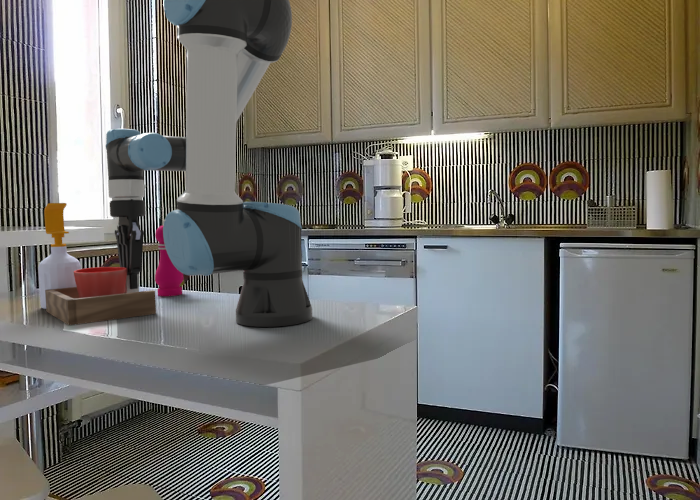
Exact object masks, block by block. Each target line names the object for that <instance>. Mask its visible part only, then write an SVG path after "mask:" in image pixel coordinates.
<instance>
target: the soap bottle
mask: <svg viewBox="0 0 700 500" xmlns="http://www.w3.org/2000/svg"><path fill="white" fill-rule="evenodd" d="M66 206H68V205H67V203H66V202H49V203H47V204H46V205H45V207H44V228H45V229H44V230H45V233H46V234H47V235H51V238H52V239H53V241H54V243H51V244H50V254H49V255H48V256H47V257H45V258H43V259H42V260H41V261H40V262H39V264H38V267H37V270H38V272H37V273H38V284H39V285H38V287H39V301H40V307H41V309H43V310H46V297H45V290H49V289H59V288H70V287H77V286H76V282H75V278H74V271H75V270H79V269H82V265H81V262H80V261H79V260H78V259H77V258H76V257H75V256H73V255H70V254H69V253H68V251H67V244H66V243H63V238H65V234H70V232H69V231H66V230H65V220H64V211H65V208H66Z"/></svg>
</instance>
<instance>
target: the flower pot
mask: <svg viewBox="0 0 700 500" xmlns="http://www.w3.org/2000/svg"><path fill="white" fill-rule="evenodd" d="M74 278H75V282H76V286H77V290H78V294H79V298H85V297H94V296H103V295H113V294H122V293H124V292H125V285H126V278H127V268H124V267H120V266H99V267H98V266H97V267H88V268H87V267H86V268H81V269H79V270H75V271H74Z"/></svg>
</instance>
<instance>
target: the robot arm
mask: <svg viewBox="0 0 700 500" xmlns="http://www.w3.org/2000/svg"><path fill="white" fill-rule="evenodd" d="M291 6H292V5H291V2H290V0H163V11H164V13H165V17H166V19H167V21H168V22H170V23H171V24H172V25H173V26H177V40H178V41H179V43H180V44H181V45H182V46H183V47H184V48H185V51H186V94H185V95H186V99H185V100H186V101H185V102H186V104H185V105H186V108H185V109H186V112H185V115H186V116H185V117H186V118H185V121H186V122H185V128H186V129H185V136H173V135H172V136H170V135H162V134H160V133H157V132H142V133H141V132H140V131H139V130H138V129H133V128H132V129H131V128H115V129H114V128H112V129H110V130H108V131H107V132H106V135H105V136H106V137H105V151H106V163H107V179H108V180H107V185H108V188H107V190H108V197H109V199H111V200H110V202H109V215H110V217H112V218H118V225H117V226H116V227H117V229H114V235H115V239H116V244H117V255H118V262H119V267H124V268H127V278H126V285H125V293H131V292H140V283H139V281H140V280H139V274H140V273H142V271H143V250H144V249H143V247H144V238H145V231H144V230H141V225H140V223H139V217H144V216H146V202H145V200H143V198H144V197H145V189H146V187H147V185H146V184H145V183H144V182H145V181H144V179H145V177H144V172H145V171H156V172H157V171H161V172H162V171H164V172H165V171H166V172H167V171H168V172H185V190H184V192H182V194H180V195H179V196H178V197H177V199H176V209H174V210H171V211H170V212H168V213H167V214H166V216H165V218H164V220H166V221H165V222H164V224H163V237H164V244H165V248H166V251H167V254H168V256H169V258H170V260H171V262H172V263H173V265H174V266H175V267H176V269H177V270H179V271H180V272H181V273H183V275H186V276H205V277H206V276H207V277H208V276H211V275H214V274H215V275H216V274H223V273H232V272H241V271H242V272H243V274H242V275H243V281H242V282H243V283H242V286H241V291H240V293H239V298H238V301H237V304H236V309H235V323H236V324H238V325H241V326H246V327H256V328H257V327H258V328H261V327H262V328H264V327H265V328H266V327H267V328H271V327H272V328H273V327H274V328H275V327H285V326H295V325H300V324H303V323H306V322H310V321H311V320H313V308H312V304H311V300H310V298H309V295H308V293H307V289H306V287H305V284H304V280H303V259H302V257H303V256H302V255H303V254H302V253H303V251H302V230H303V227H302V222H301V213H300V211H299V210H298V208H296V207H295V206H293V205H289V204H284V203H277V202H276V203H275V202H263V201H244V200H242V198H241V197H240V196H239V195H238V194H237V193H236V191H235V190H236V159H237V158H236V157H237V156H236V154H237V153H236V152H237V122H238V120H239V118H240V117H241V114H242V113H243V112H244V110H245V108H246V107H247V104H248V103H249V101H250V99H251V97H253V95H254V92H255V91H256V89H257V87H258V86H259V84H260V82H261V80H262V79H263V77H264V75H265V73H266V71H267V70H268V68H269V66H270V65H271V64H273V63H276V62H278V61H279V60H280V58H281V56H282V55H283V53H284V52H285V50H286V47H287V45H288V43H289V39H290V37H291V32H292V25H293V13H292V7H291Z"/></svg>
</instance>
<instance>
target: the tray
mask: <svg viewBox="0 0 700 500" xmlns="http://www.w3.org/2000/svg"><path fill="white" fill-rule="evenodd" d="M45 297H46V309H45V310H46V311H45V312H46V313H48V314H49V315H51V316H53V317H55V318H56V319H58V320H59V319H60V320H59V321H61V322H63V323H65V324H66V325H68V326H75V324H76V325H82V324H90V323H96V322H105V321H110V320H111V321H112V320H119V319H128V318H133V317H141V316H142V317H143V316H149V315H156V314H157V305H156V304H157V303H156V290H153V289H151V290H142V291H140V290H139V292H131V293H125V292H124V293H122V294H113V295H103V296H94V297H85V298H79V294H78V290H77V287H70V288H59V289H49V290H45Z"/></svg>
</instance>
